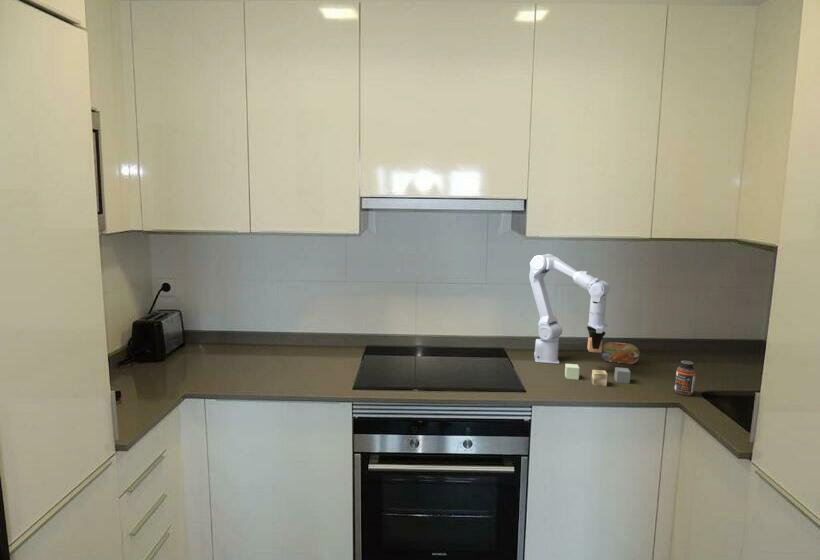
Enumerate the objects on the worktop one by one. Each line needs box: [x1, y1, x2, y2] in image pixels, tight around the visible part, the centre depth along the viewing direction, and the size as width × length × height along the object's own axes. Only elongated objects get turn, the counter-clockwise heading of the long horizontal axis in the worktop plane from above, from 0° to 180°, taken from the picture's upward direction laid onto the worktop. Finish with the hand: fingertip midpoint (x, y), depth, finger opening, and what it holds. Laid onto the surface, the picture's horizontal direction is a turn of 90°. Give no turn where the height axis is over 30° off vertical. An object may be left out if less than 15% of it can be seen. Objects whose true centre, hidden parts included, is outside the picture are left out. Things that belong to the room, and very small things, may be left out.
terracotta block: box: [586, 337, 603, 353], centre depth 205 cm, size 4×4×4 cm
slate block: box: [613, 366, 631, 384], centre depth 197 cm, size 4×4×4 cm
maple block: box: [590, 369, 608, 387], centre depth 193 cm, size 4×4×4 cm
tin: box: [600, 341, 641, 365], centre depth 219 cm, size 15×3×8 cm, turn 72°
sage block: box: [564, 363, 580, 381], centre depth 200 cm, size 4×4×4 cm
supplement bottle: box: [674, 360, 697, 397], centre depth 185 cm, size 6×6×11 cm
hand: (594, 346), depth 206 cm, fingers closed on terracotta block, 4 cm apart
